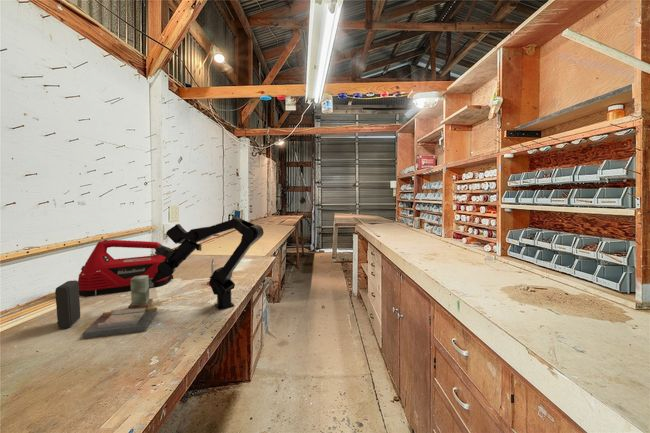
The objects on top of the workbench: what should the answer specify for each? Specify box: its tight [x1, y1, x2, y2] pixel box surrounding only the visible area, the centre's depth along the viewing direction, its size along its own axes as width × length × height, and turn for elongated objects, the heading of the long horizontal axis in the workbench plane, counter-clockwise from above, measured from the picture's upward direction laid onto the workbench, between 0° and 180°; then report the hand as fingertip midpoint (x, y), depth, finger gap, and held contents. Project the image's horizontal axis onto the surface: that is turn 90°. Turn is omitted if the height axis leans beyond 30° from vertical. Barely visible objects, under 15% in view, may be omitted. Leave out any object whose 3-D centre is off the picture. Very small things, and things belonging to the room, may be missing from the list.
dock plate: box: [81, 306, 158, 340], centre depth 103 cm, size 18×16×4 cm
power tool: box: [77, 239, 174, 297], centre depth 144 cm, size 16×40×25 cm, turn 122°
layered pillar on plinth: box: [127, 275, 154, 309], centre depth 118 cm, size 7×7×13 cm
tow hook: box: [206, 259, 215, 286], centre depth 150 cm, size 8×13×9 cm
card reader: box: [54, 279, 81, 330], centre depth 103 cm, size 9×4×15 cm, turn 21°
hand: (155, 278), depth 119 cm, fingers open, 9 cm apart
